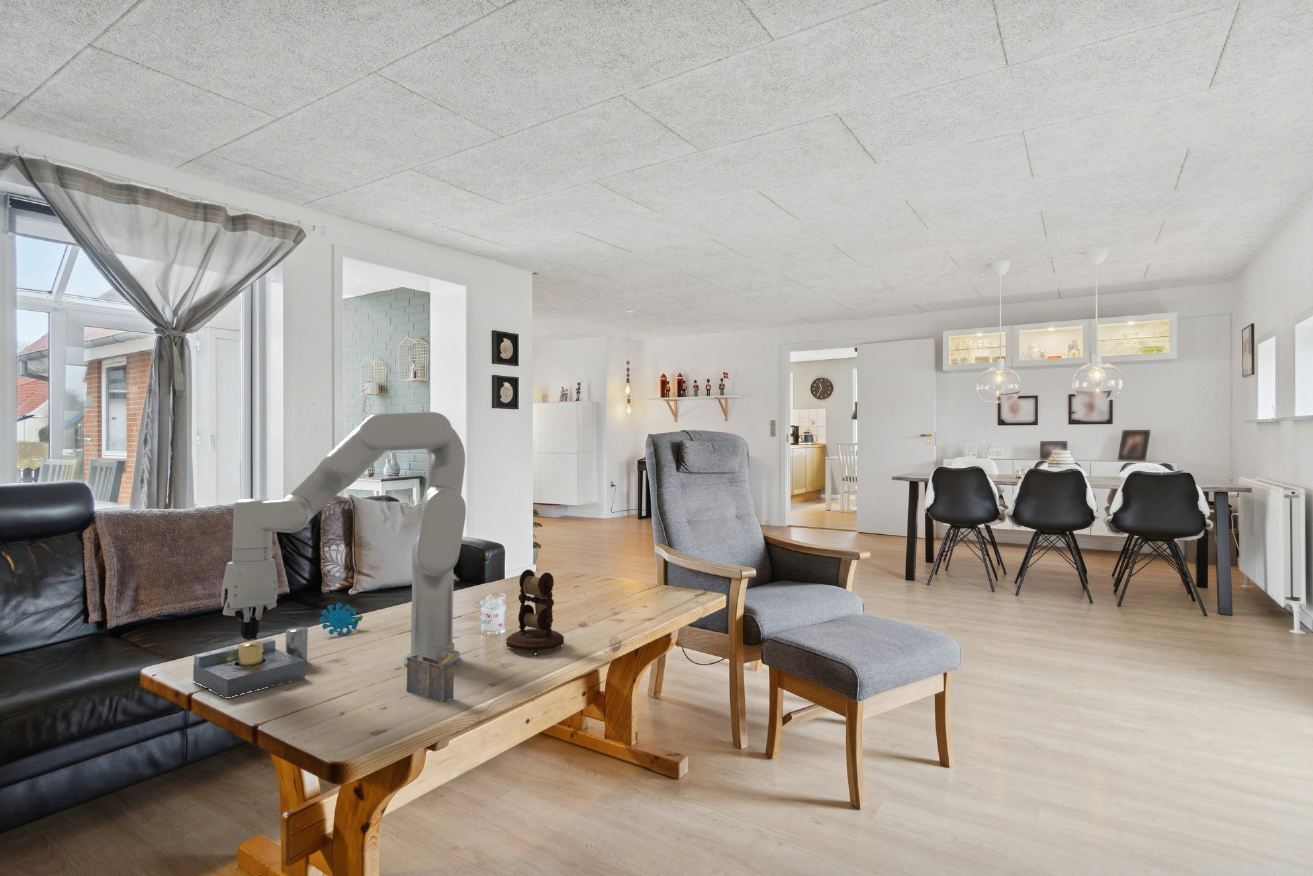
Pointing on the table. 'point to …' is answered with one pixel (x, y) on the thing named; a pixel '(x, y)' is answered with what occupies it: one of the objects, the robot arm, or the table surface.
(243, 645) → the brass cylinder plug
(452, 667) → the rusty open-top box
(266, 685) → the jig
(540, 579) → the brown spool rack
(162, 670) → the table surface
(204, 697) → the table surface
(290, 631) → the metal cylinder plug
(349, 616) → the blue spiky piece
